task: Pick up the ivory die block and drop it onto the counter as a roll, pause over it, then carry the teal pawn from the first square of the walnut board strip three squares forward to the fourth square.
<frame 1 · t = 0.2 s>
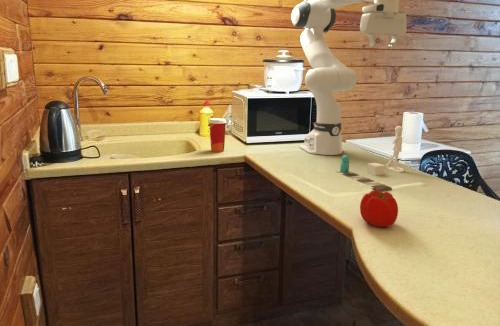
hand: (382, 47, 155), 47 cm above the countertop, fingers open, 8 cm apart
board: (361, 181, 148), on the countertop
tomato: (377, 224, 110), on the countertop
die: (375, 175, 156), on the countertop
coffee cup: (217, 151, 192), on the countertop
pawn: (344, 172, 157), point 1 cm above the countertop, touching board
figurine: (393, 170, 164), on the countertop
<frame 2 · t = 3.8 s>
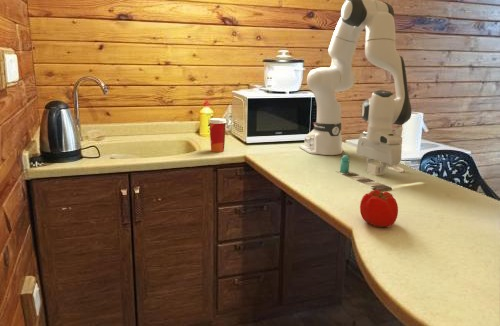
hand: (375, 171, 156), 2 cm above the countertop, fingers closed on die, 4 cm apart
die: (375, 175, 156), on the countertop, touching gripper
everything else where it was.
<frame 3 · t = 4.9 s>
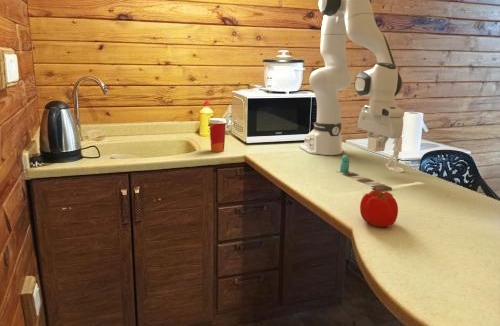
hand: (376, 145, 154), 12 cm above the countertop, fingers closed on die, 4 cm apart
die: (375, 149, 154), point 10 cm above the countertop, touching gripper
everything else where it was.
when the fingers open (11 cm above the countertop, at t = 6.1 s): die drops 10 cm, on the countertop.
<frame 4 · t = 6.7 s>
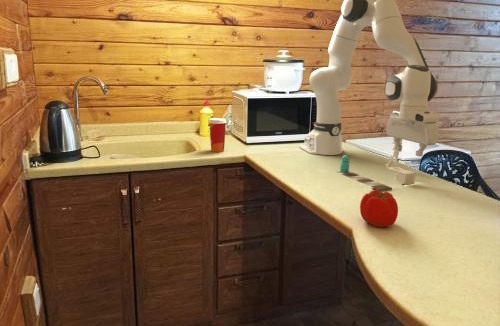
hand: (408, 153, 144), 11 cm above the countertop, fingers open, 8 cm apart
die: (404, 183, 147), on the countertop
everything else where it was.
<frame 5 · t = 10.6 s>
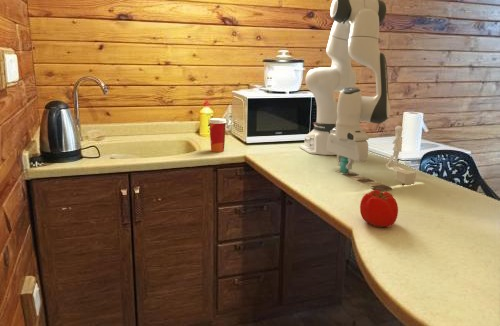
hand: (344, 167, 157), 3 cm above the countertop, fingers closed on pawn, 3 cm apart
pawn: (344, 172, 157), point 1 cm above the countertop, touching board, gripper
everything else where it was.
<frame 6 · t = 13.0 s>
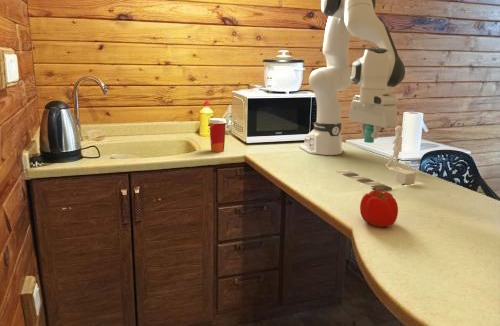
hand: (369, 137, 142), 17 cm above the countertop, fingers closed on pawn, 3 cm apart
pawn: (368, 141, 143), point 15 cm above the countertop, touching gripper
everything else where it was.
when the fingers open (4 cm above the countertop, at t = 15.4 s): pawn drops 2 cm, resting on board.
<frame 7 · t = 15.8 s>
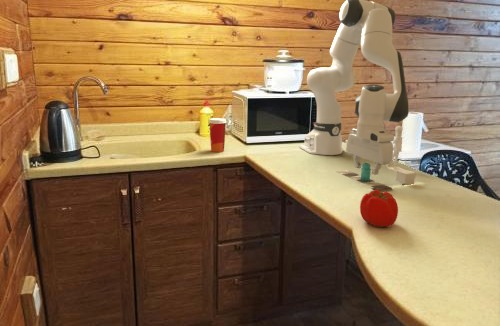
hand: (366, 170, 146), 4 cm above the countertop, fingers open, 8 cm apart
pawn: (365, 180, 147), point 1 cm above the countertop, touching board
everything else where it was.
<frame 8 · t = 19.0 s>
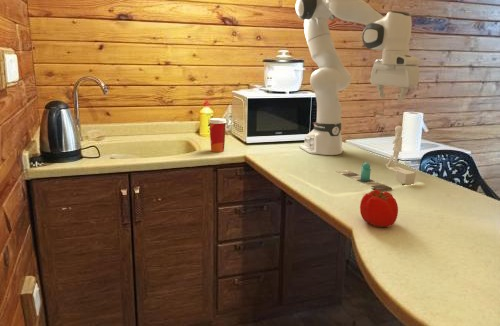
hand: (390, 98, 148), 29 cm above the countertop, fingers open, 8 cm apart
nothing on the countertop moved.
at the end: pawn 0.1 cm from the target spot, point 0.8 cm above the countertop; pawn tilted 0°; the gripper is holding nothing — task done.
